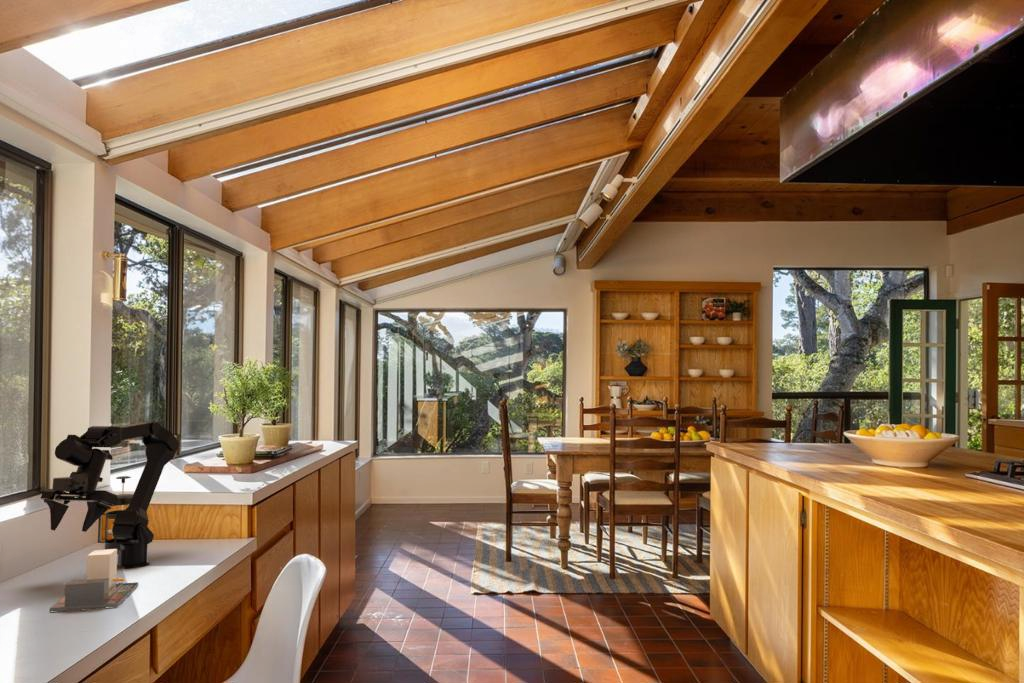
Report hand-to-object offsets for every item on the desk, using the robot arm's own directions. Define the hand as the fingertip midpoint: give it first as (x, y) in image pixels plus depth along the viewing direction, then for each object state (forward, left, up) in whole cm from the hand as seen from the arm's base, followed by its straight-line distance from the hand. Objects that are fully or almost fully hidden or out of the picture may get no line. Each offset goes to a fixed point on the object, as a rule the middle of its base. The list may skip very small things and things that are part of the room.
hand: (68, 530), depth 180 cm
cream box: (-4, +12, -13) cm, 19 cm away
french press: (-24, -34, -15) cm, 44 cm away
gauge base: (-2, +15, -14) cm, 21 cm away
